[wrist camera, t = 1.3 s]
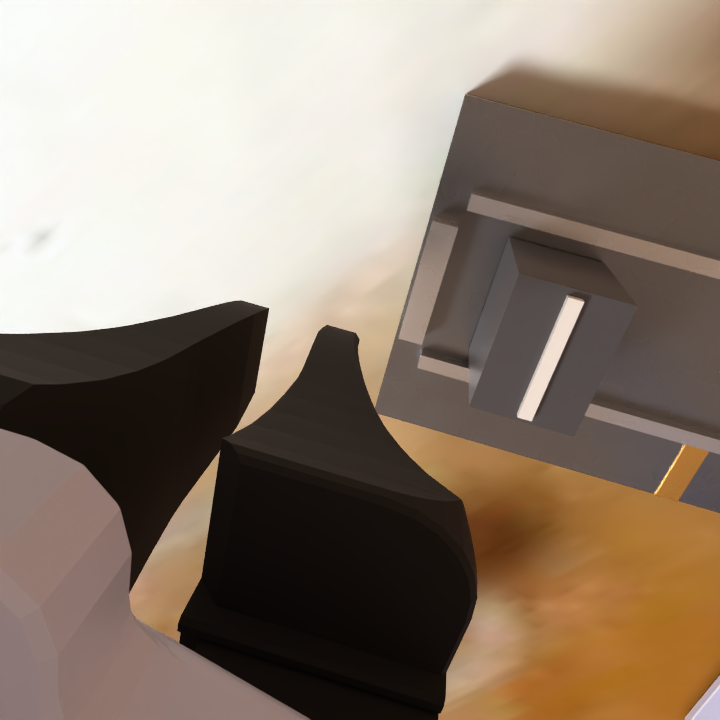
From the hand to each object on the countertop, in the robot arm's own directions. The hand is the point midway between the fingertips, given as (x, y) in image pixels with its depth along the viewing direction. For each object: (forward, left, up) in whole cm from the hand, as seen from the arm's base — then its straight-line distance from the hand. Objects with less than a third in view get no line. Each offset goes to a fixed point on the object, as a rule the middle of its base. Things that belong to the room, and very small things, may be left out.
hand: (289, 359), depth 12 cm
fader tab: (-6, 0, -8) cm, 10 cm away
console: (-10, 0, -9) cm, 14 cm away
